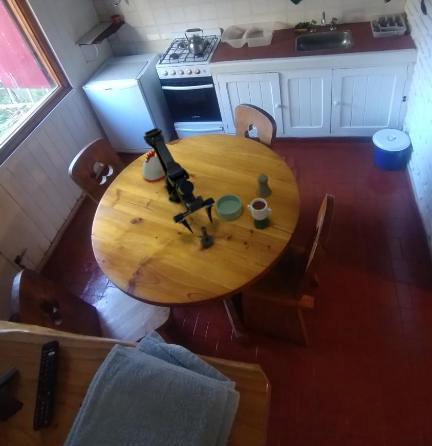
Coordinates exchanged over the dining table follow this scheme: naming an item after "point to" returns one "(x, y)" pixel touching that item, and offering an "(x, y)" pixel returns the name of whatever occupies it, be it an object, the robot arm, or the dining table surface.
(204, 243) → the grey peg stand
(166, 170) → the robot arm
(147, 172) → the kitchen timer
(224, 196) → the bowl
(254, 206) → the character mug
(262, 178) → the pepper mill
